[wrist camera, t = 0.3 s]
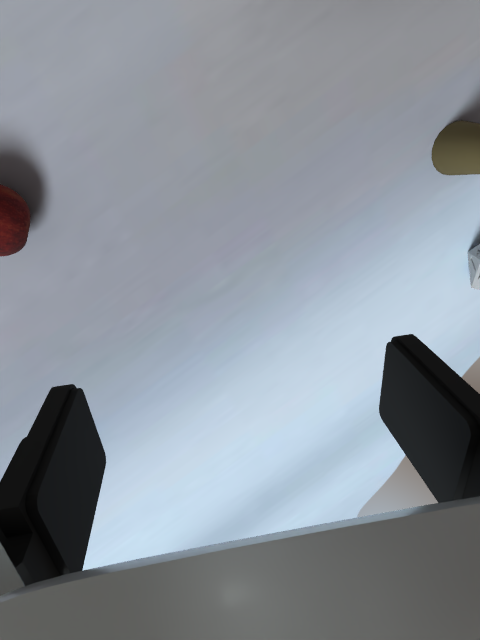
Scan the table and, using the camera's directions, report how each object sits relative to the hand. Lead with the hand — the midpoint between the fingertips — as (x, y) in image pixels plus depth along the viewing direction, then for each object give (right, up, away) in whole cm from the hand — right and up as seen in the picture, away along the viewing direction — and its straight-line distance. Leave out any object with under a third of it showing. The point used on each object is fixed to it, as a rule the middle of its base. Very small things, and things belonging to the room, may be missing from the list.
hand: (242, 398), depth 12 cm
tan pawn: (+26, +23, +34) cm, 49 cm away
